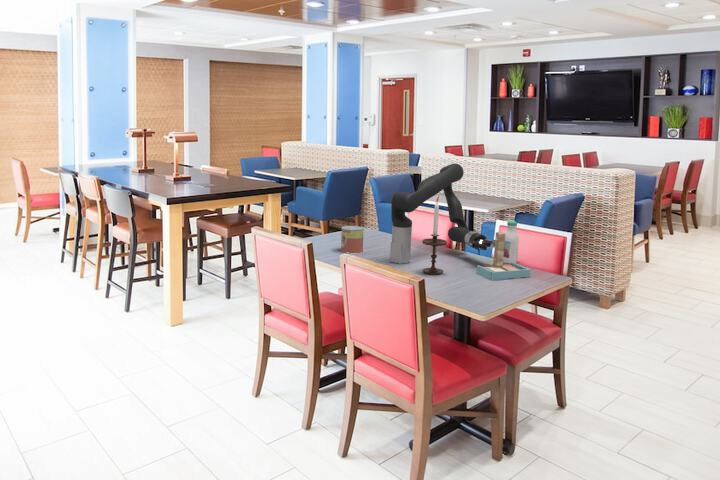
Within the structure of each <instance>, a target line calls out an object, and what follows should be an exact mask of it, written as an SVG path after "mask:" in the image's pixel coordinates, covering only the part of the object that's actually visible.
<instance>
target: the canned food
mask: <svg viewBox="0 0 720 480" xmlns="http://www.w3.org/2000/svg"><path fill="white" fill-rule="evenodd" d="M364 229H365V227H362V226H358V225H345V226H341V234H340V235H341V243H340V252H341V251H342V252H341V253H344V254H347V253H346V252H349V253H348V254H350V255H351V253H357V254H361V252H362V253H364V231H365V230H364Z"/></svg>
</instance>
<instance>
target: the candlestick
mask: <svg viewBox="0 0 720 480" xmlns="http://www.w3.org/2000/svg"><path fill="white" fill-rule="evenodd" d="M439 198H440V195H438V196H437V198H436V200H435V201H436V203H435V205H434V211H433V213H434V214H433V225H432V226H433V228H432V229H433V230H432V234H430V236H431V237H432V238H424V239H422V240H421V241H422V245H423V244H424V245H426V246H431V247H432V253H431V255H430V258H431V260H430V263H431V265H430V267H426V268H423V269H422V273H423V274H426V275H430V276H431V275H432V276H440V275H443V273H444V270H443V269H442V268H438V267H436V263H437V261H436V259H437V257H438V256H437V254H436V251H437V247H442V246H446V245H447V244H448V241H447V240H445V239H441V238H438V237H439V236H440V235H439V234H438V227H439V210H440V209H439V208H440V205H439V204H438V202H439Z"/></svg>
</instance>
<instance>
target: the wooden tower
mask: <svg viewBox="0 0 720 480" xmlns="http://www.w3.org/2000/svg"><path fill="white" fill-rule="evenodd" d="M494 240H495V248H493V249H494V251H493V261H492V262H493V263H492V266H487V267H486V266H484V268H486V269H488V270H489V268H501V269H502V267H512V266H510V265H504V262H503V255H504V243H505V232H502V231H499V232H497V231H496V232H495V238H494Z"/></svg>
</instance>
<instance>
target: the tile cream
mask: <svg viewBox="0 0 720 480" xmlns="http://www.w3.org/2000/svg"><path fill="white" fill-rule="evenodd" d="M489 270H490V271H492V272H497V271H505V270H503V269H501V268H489Z"/></svg>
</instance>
